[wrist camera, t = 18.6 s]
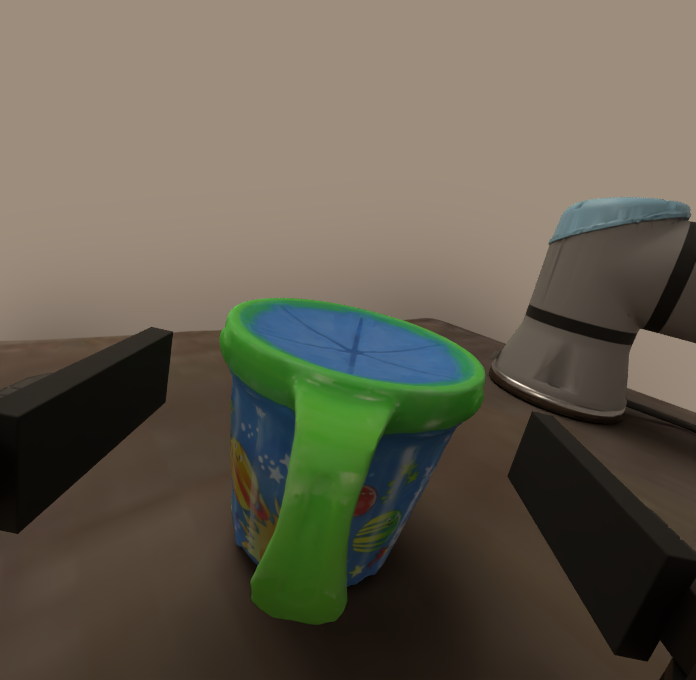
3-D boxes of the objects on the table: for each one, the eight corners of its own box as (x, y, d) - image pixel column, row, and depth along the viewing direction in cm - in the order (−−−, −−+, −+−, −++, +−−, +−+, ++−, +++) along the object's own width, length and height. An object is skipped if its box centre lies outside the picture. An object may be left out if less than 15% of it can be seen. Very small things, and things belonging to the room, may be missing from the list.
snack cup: (415, 784, 11) (543, 474, 8) (82, 651, 12) (99, 344, 10) (420, 474, 26) (467, 326, 23) (268, 428, 27) (296, 282, 25)
